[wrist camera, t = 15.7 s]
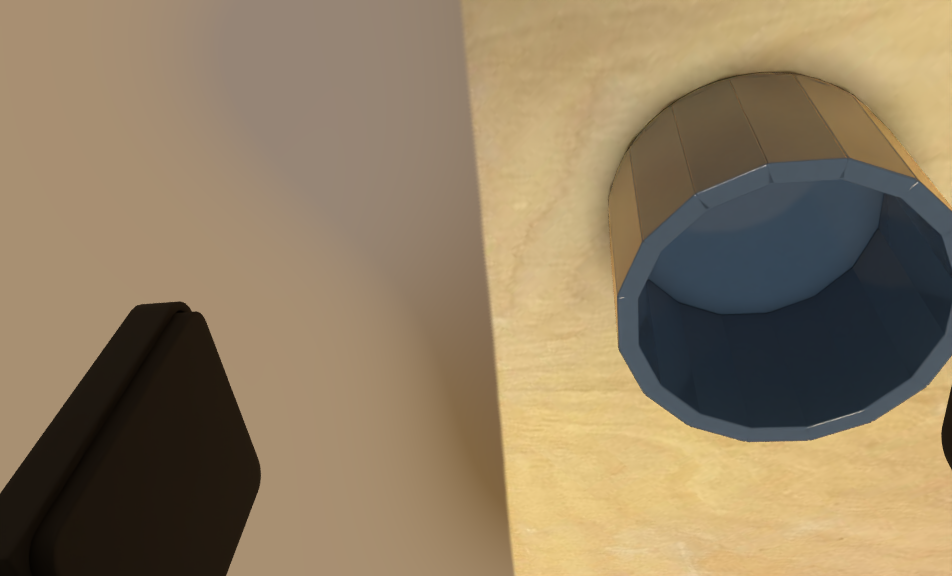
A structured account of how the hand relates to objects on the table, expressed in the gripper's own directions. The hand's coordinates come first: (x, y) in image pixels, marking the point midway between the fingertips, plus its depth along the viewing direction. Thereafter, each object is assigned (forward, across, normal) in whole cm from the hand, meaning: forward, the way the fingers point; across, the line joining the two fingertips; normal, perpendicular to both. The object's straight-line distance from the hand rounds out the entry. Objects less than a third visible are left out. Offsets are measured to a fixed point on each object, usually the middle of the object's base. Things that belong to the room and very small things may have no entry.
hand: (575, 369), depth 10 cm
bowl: (+26, -8, +12) cm, 30 cm away
